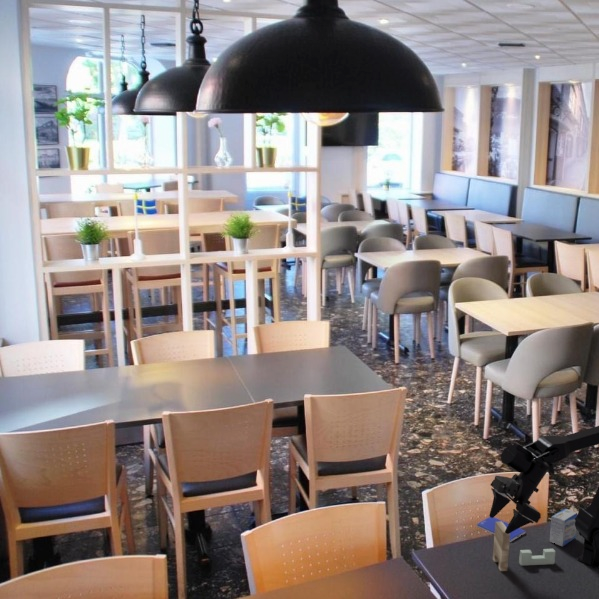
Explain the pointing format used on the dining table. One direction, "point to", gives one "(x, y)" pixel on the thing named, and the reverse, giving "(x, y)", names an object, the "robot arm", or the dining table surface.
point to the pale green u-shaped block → (537, 557)
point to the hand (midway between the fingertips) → (498, 525)
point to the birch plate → (501, 546)
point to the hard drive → (490, 527)
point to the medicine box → (563, 527)
